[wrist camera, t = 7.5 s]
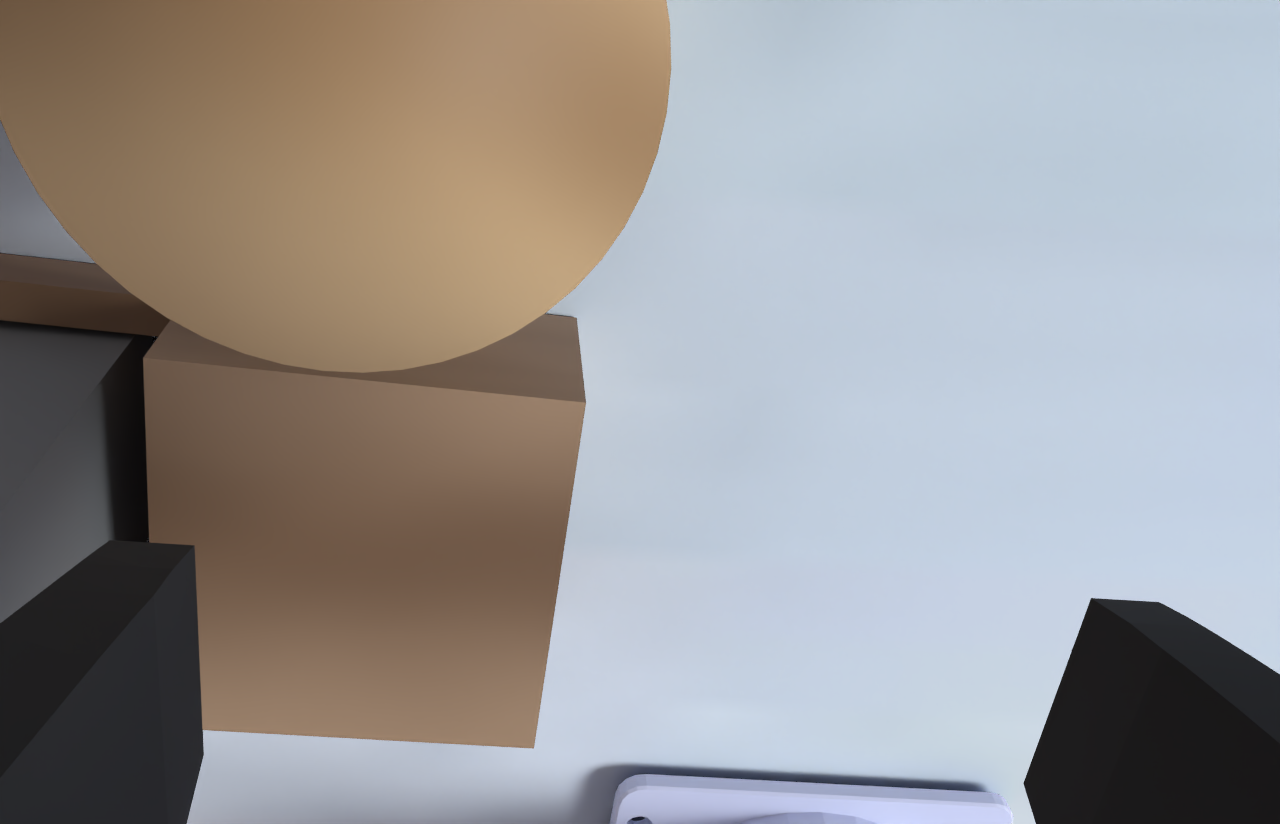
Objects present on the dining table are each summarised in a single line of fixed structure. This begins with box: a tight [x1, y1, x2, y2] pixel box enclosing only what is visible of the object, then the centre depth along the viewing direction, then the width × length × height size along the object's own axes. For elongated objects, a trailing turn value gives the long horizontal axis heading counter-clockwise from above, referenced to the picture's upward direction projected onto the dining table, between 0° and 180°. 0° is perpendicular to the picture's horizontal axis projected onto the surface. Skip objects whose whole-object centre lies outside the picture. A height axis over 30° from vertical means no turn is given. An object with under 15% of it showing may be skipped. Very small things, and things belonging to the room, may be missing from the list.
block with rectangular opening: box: [0, 253, 586, 748], centre depth 17 cm, size 6×12×3 cm, turn 81°
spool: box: [0, 0, 671, 373], centre depth 13 cm, size 7×7×6 cm
